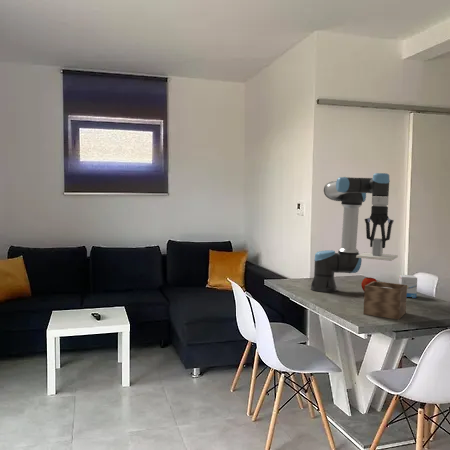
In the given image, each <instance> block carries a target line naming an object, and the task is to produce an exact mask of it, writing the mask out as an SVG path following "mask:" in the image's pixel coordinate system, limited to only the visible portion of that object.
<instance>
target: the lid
mask: <svg viewBox="0 0 450 450" xmlns="http://www.w3.org/2000/svg"><path fill="white" fill-rule="evenodd" d="M381 241H382V238H377V237H376V238H375V237H374V244H373V254H372V252H362V253H359V255H356V258H361V259H366V260H379V261H390V262H392V261H394V260H395V259H397V258H398V257H399V256H398V254H385V253H383V255H380V244H381Z"/></svg>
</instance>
